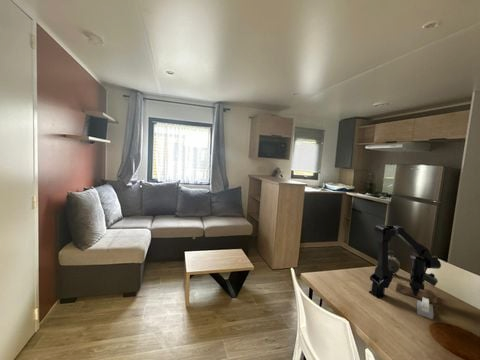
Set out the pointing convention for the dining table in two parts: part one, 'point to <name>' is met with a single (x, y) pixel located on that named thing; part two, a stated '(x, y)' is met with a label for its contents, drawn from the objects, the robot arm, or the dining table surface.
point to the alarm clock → (393, 264)
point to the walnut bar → (422, 293)
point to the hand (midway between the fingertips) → (415, 293)
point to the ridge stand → (425, 308)
